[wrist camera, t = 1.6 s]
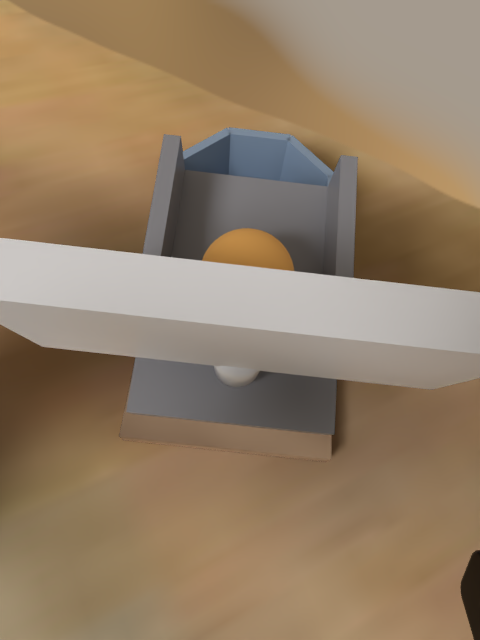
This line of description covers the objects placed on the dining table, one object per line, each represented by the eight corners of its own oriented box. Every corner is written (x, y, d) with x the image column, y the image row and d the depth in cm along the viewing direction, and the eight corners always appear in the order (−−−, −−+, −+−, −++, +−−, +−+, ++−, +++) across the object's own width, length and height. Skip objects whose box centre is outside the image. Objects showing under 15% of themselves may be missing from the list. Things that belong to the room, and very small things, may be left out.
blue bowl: (319, 306, 25) (336, 272, 21) (162, 289, 25) (154, 251, 21) (321, 185, 29) (336, 140, 25) (186, 169, 29) (182, 121, 25)
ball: (303, 291, 16) (318, 300, 13) (229, 332, 17) (226, 349, 13) (263, 215, 16) (269, 204, 13) (187, 257, 16) (175, 257, 13)
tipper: (380, 441, 16) (555, 440, 8) (77, 408, 16) (-82, 371, 7) (384, 204, 18) (516, 13, 10) (124, 174, 18) (46, -44, 10)
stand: (334, 462, 21) (386, 438, 15) (114, 439, 21) (73, 404, 15) (334, 316, 25) (377, 245, 18) (145, 295, 24) (122, 216, 18)
